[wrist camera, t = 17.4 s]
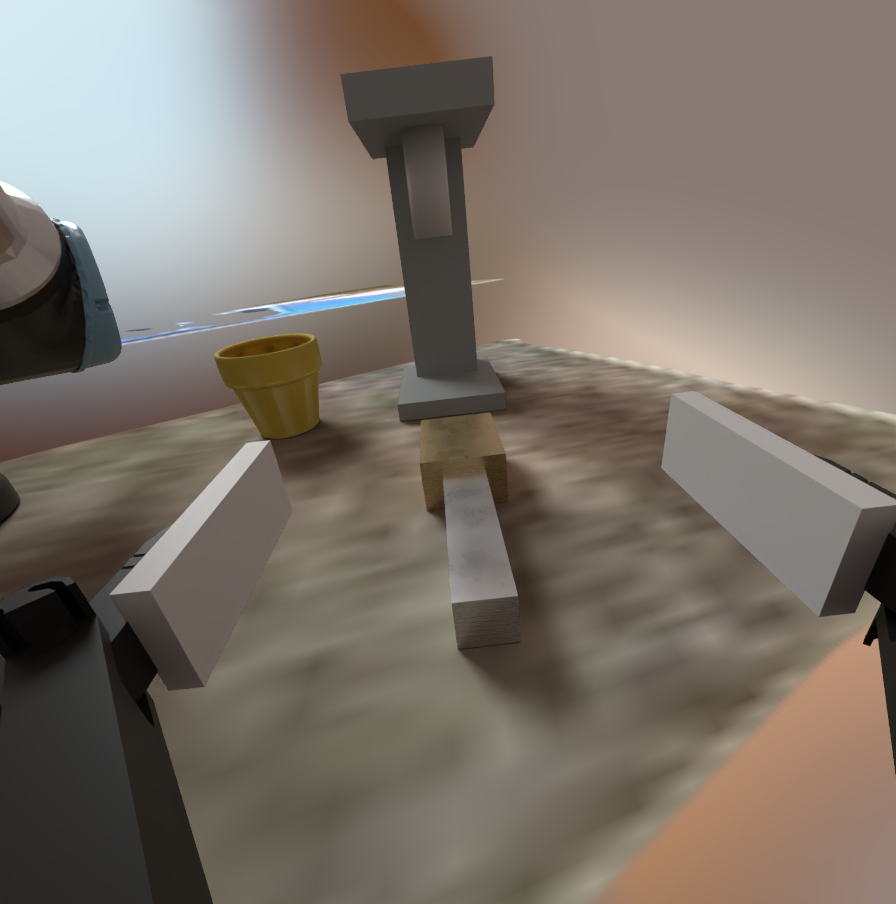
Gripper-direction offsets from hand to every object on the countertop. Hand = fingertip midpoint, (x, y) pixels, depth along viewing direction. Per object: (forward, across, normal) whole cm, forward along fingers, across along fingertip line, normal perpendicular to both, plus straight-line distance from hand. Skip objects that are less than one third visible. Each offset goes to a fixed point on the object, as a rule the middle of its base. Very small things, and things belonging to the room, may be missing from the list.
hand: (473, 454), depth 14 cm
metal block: (+11, 0, -11) cm, 16 cm away
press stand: (+39, 0, -11) cm, 40 cm away
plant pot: (+34, -19, -11) cm, 40 cm away
